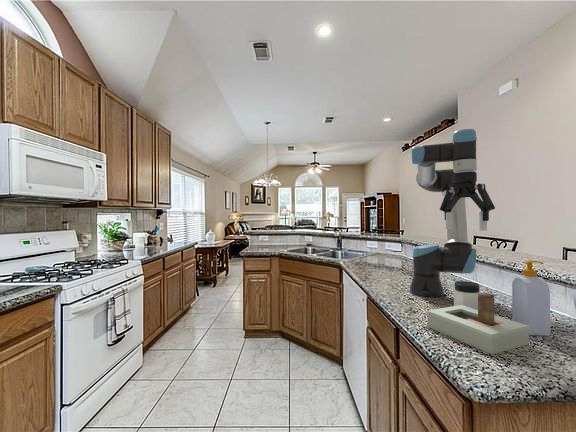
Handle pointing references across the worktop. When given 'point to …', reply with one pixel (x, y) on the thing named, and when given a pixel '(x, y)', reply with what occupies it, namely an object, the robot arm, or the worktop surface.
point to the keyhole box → (478, 329)
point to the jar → (466, 294)
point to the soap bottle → (531, 301)
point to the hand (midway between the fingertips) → (465, 229)
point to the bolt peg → (486, 308)
